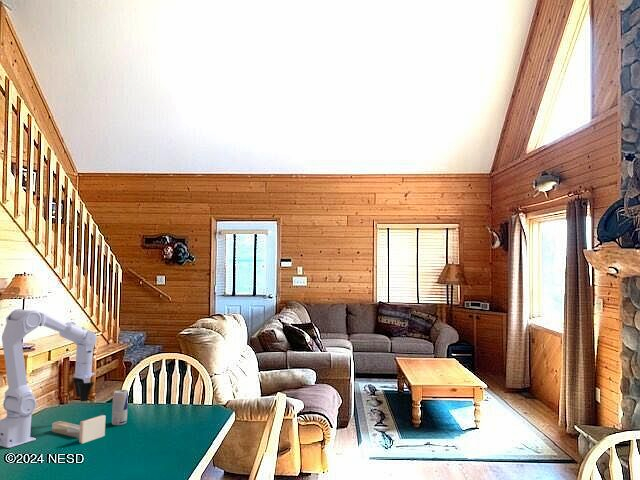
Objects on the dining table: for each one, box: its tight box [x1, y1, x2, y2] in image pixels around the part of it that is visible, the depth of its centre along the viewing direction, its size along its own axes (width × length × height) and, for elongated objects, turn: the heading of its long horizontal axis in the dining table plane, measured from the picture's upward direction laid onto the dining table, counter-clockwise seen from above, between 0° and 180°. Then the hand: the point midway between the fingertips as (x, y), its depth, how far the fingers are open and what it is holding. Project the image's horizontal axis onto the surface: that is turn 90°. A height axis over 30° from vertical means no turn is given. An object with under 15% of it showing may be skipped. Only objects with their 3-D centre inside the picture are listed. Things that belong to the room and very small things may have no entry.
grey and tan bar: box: [51, 420, 80, 439], centre depth 176 cm, size 3×14×3 cm, turn 64°
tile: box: [78, 414, 107, 445], centre depth 171 cm, size 9×2×7 cm, turn 154°
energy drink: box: [111, 389, 129, 426], centre depth 189 cm, size 5×5×12 cm
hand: (81, 398), depth 187 cm, fingers open, 7 cm apart
